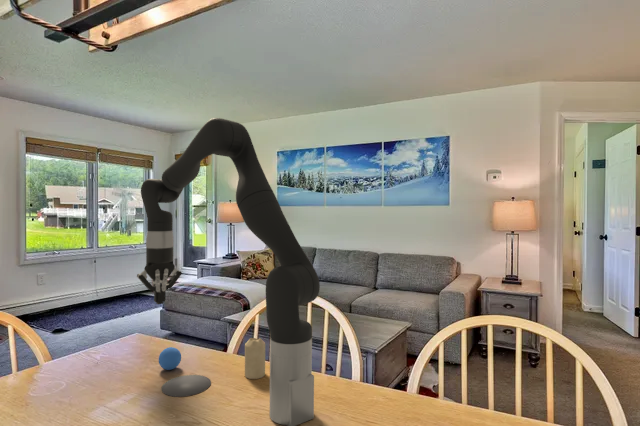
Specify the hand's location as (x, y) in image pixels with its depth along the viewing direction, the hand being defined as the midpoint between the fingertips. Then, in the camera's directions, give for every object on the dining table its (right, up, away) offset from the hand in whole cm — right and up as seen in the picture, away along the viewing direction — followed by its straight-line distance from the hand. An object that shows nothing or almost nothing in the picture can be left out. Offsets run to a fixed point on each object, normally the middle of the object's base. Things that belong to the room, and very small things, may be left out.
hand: (159, 303), depth 119 cm
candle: (+30, -17, -11) cm, 36 cm away
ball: (+6, -14, -7) cm, 17 cm away
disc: (+14, -17, -17) cm, 28 cm away
